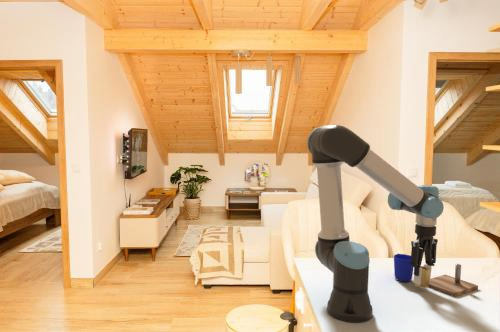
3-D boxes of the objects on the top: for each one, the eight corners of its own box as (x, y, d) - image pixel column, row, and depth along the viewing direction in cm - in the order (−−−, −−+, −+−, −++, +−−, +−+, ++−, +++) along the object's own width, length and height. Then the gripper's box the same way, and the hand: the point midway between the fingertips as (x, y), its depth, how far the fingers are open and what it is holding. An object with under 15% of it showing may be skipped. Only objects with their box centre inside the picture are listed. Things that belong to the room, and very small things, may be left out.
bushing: (423, 288, 148) (424, 271, 147) (411, 283, 152) (412, 266, 152) (431, 286, 150) (432, 269, 150) (419, 281, 155) (421, 265, 154)
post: (458, 285, 153) (459, 266, 152) (452, 283, 155) (453, 264, 154) (462, 284, 154) (463, 265, 153) (456, 282, 156) (457, 263, 156)
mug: (407, 273, 170) (408, 251, 169) (416, 283, 158) (417, 260, 157) (388, 272, 171) (389, 251, 170) (395, 282, 159) (396, 259, 158)
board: (454, 296, 145) (454, 293, 145) (421, 284, 157) (422, 281, 157) (477, 289, 153) (478, 285, 153) (445, 277, 165) (445, 274, 165)
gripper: (419, 228, 142) (415, 289, 143) (448, 224, 151) (444, 281, 152) (402, 224, 148) (398, 282, 150) (431, 220, 157) (427, 275, 159)
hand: (421, 282), depth 151 cm, fingers closed on bushing, 5 cm apart
